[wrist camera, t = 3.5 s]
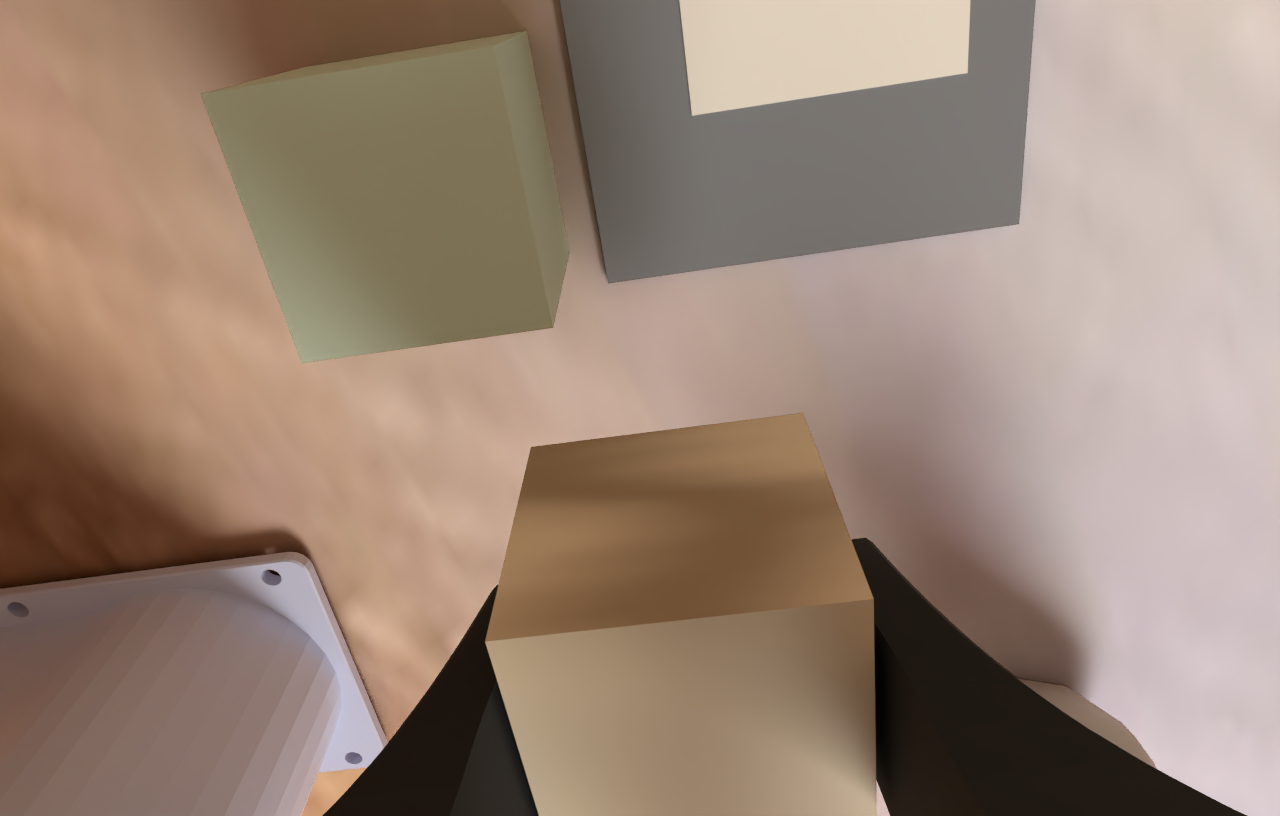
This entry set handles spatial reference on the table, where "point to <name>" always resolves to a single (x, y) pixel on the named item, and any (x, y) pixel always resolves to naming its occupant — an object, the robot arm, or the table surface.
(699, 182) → the slate mat
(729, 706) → the beech block
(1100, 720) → the salt shaker
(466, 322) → the sage block
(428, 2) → the table surface
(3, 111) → the table surface
